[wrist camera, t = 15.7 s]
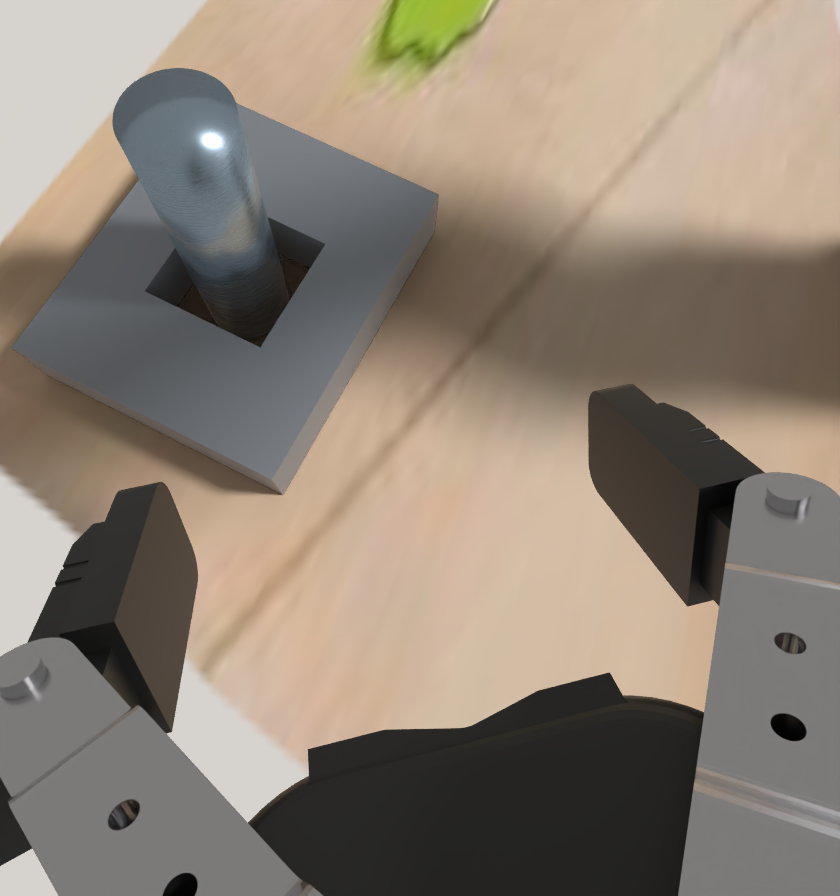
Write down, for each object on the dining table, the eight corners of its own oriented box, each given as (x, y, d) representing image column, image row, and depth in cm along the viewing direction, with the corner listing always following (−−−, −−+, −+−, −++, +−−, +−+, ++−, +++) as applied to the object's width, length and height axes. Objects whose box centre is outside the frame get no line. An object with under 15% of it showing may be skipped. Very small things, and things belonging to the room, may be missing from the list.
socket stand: (221, 134, 35) (207, 90, 32) (434, 231, 34) (438, 194, 31) (46, 374, 31) (11, 347, 28) (283, 494, 30) (271, 479, 27)
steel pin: (235, 255, 33) (156, 51, 22) (303, 287, 33) (260, 97, 21) (194, 316, 32) (87, 136, 21) (264, 350, 32) (195, 186, 20)
